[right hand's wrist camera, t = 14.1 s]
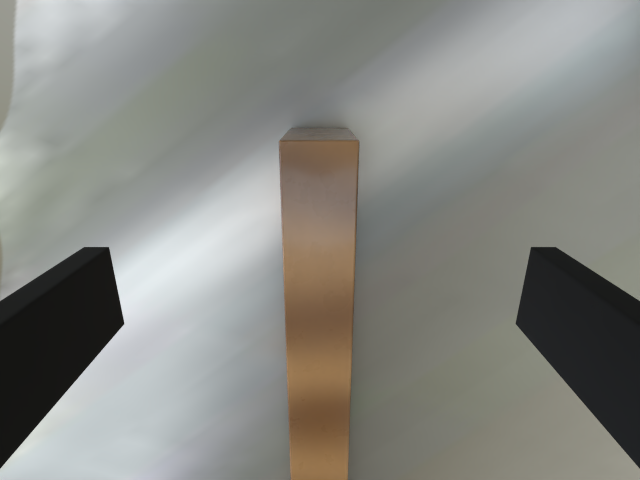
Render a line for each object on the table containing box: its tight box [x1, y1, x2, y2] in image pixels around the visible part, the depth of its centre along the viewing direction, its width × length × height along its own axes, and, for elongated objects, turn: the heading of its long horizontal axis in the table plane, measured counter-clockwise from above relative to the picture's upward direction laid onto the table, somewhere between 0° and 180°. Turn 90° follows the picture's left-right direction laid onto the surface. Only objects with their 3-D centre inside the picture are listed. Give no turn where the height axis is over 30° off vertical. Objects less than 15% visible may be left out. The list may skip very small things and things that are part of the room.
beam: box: [279, 128, 359, 480], centre depth 34 cm, size 55×4×8 cm, turn 0°
